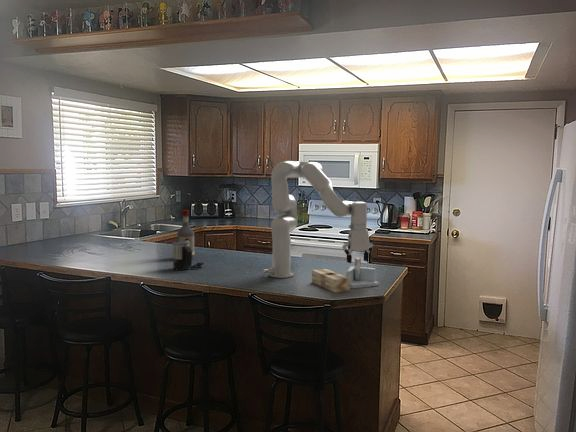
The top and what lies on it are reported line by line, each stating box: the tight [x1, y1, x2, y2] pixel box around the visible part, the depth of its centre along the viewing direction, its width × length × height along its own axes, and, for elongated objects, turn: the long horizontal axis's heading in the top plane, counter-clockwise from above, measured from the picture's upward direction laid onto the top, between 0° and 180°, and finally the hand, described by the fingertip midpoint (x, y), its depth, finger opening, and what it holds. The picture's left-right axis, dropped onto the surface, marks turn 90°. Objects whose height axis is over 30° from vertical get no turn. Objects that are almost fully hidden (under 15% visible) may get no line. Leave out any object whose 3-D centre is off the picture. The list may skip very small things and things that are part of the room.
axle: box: [353, 257, 362, 281], centre depth 234 cm, size 3×3×11 cm
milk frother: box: [172, 241, 205, 271], centre depth 266 cm, size 14×16×15 cm
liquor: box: [177, 209, 195, 260], centre depth 293 cm, size 9×9×30 cm
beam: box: [311, 268, 351, 293], centre depth 229 cm, size 8×22×6 cm, turn 25°
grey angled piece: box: [345, 265, 380, 289], centre depth 234 cm, size 17×13×8 cm
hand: (357, 261), depth 234 cm, fingers open, 9 cm apart
